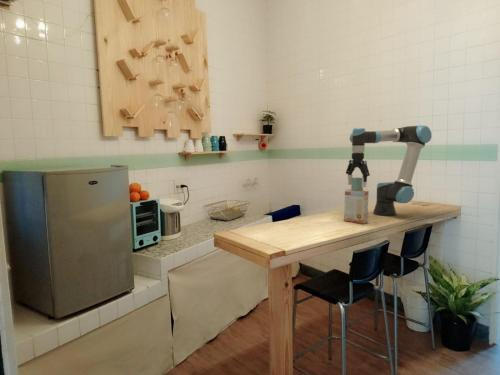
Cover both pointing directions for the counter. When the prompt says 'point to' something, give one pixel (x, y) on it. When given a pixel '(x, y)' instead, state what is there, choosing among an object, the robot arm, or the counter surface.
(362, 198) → the cracker box
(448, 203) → the counter surface
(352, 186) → the teal block
